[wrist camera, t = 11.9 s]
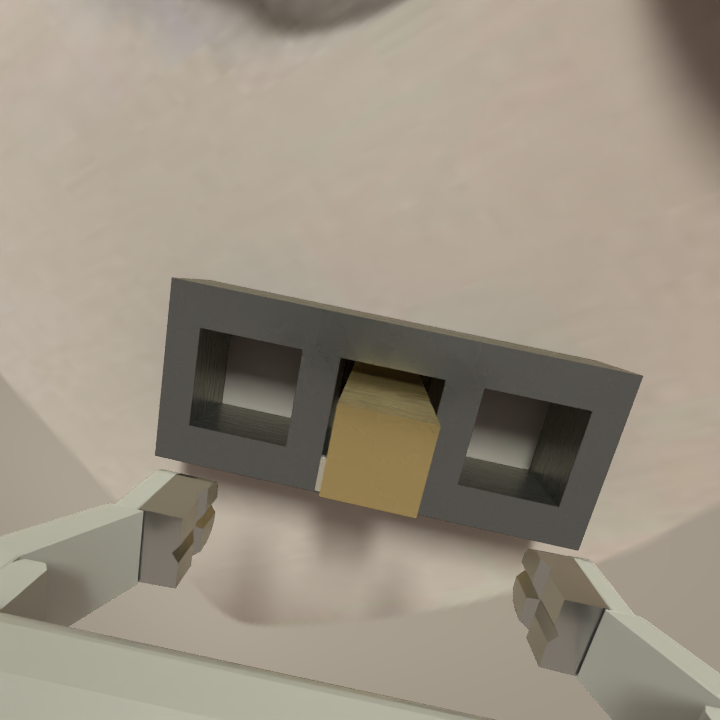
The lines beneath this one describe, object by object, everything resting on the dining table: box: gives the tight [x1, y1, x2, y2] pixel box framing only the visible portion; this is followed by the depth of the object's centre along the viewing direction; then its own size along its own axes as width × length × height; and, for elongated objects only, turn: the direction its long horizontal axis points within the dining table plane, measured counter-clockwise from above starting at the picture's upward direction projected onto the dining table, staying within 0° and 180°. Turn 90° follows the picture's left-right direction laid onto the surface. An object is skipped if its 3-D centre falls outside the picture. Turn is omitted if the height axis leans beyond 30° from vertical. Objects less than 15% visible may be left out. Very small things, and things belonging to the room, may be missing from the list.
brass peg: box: [319, 361, 441, 518], centre depth 18 cm, size 4×4×9 cm
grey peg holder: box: [155, 278, 643, 550], centre depth 21 cm, size 24×10×4 cm, turn 79°
